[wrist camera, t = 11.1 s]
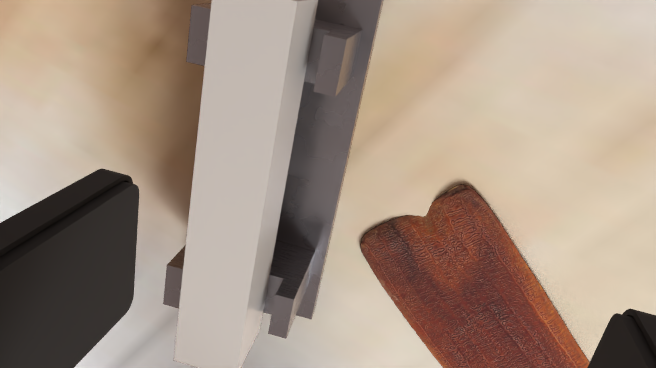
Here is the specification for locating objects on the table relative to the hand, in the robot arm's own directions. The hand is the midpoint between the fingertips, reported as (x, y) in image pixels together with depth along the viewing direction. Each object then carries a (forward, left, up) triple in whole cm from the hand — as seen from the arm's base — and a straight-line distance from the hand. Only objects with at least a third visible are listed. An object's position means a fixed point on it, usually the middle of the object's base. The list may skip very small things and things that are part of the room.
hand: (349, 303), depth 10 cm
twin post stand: (+8, +7, -27) cm, 29 cm away
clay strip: (+8, +7, -21) cm, 24 cm away
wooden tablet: (-12, +18, -28) cm, 35 cm away
